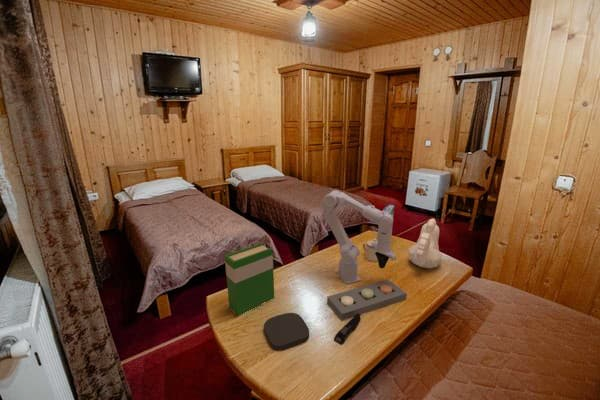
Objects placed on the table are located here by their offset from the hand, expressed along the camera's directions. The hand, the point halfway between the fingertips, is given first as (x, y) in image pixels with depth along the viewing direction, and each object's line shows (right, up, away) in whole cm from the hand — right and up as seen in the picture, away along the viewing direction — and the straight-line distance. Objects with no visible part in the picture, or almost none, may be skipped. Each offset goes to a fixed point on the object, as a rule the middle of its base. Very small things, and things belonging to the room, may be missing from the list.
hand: (381, 267), depth 130 cm
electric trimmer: (-20, -18, -25) cm, 36 cm away
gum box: (+14, +3, +44) cm, 47 cm away
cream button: (-18, -12, -12) cm, 25 cm away
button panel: (-9, -12, -8) cm, 17 cm away
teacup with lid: (+3, -1, +29) cm, 29 cm away
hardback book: (-58, -13, -9) cm, 60 cm away
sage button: (-9, -10, -9) cm, 16 cm away
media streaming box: (-42, -18, -25) cm, 53 cm away
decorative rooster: (+26, -4, +19) cm, 32 cm away
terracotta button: (0, -10, -5) cm, 11 cm away
